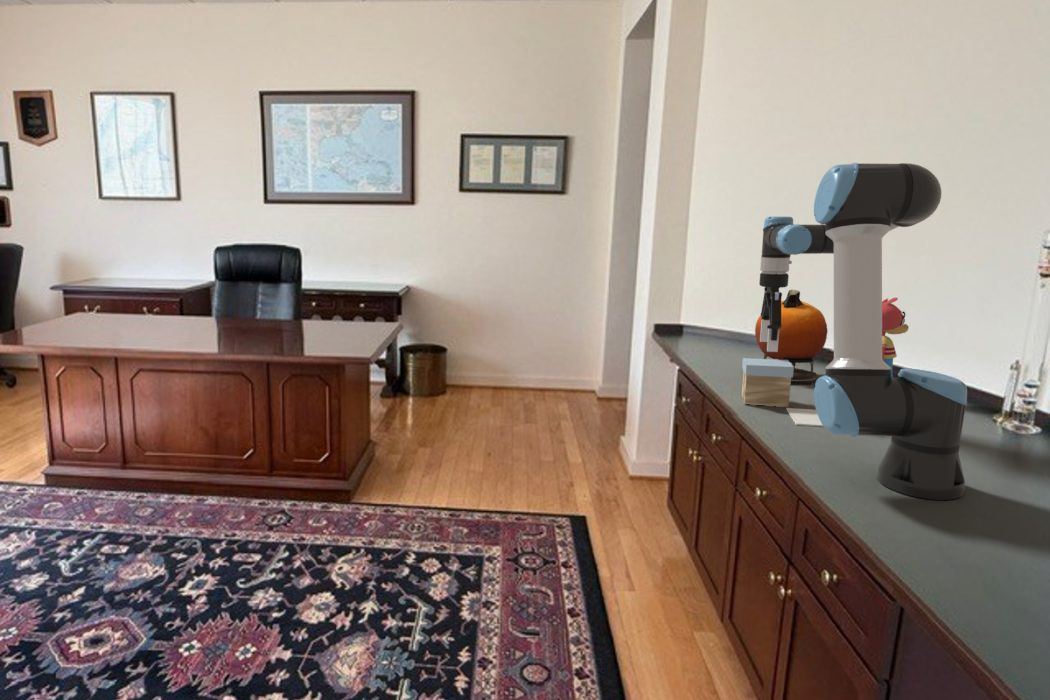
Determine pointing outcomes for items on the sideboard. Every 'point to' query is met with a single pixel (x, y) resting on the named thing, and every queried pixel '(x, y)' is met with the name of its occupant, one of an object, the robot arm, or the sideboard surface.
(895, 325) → the toy
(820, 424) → the pad
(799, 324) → the pumpkin
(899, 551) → the sideboard surface
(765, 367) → the lid
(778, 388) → the box
